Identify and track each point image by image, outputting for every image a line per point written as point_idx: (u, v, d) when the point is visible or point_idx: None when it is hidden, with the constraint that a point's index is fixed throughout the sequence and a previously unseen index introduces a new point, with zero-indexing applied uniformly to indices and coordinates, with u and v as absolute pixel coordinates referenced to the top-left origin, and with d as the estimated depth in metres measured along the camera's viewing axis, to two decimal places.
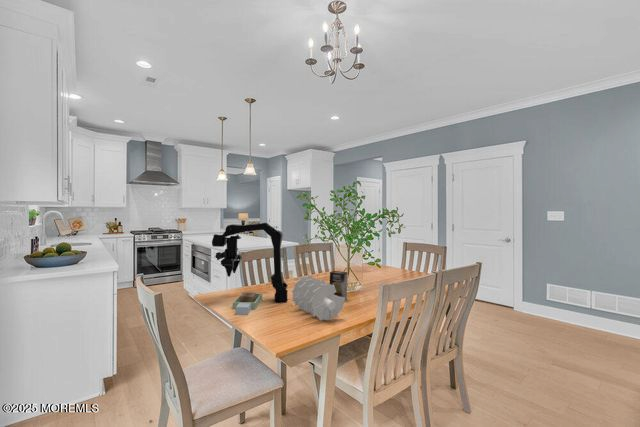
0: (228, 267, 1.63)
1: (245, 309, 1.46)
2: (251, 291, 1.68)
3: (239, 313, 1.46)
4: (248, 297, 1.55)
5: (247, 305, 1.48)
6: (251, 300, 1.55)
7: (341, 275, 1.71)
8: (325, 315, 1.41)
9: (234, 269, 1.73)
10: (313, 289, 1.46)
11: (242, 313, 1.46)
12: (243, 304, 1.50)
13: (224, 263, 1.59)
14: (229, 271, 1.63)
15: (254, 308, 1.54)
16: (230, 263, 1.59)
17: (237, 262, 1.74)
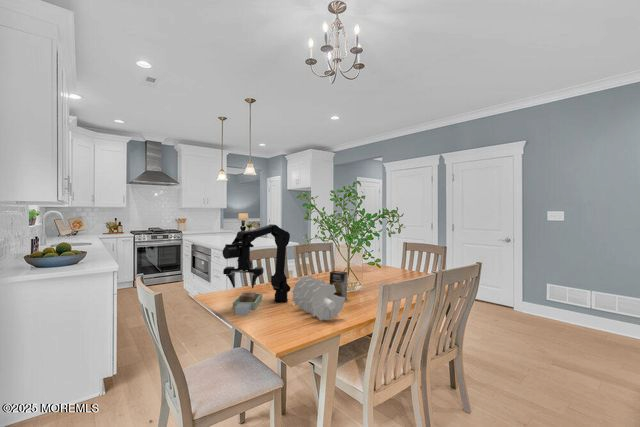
0: None
1: (244, 309, 1.46)
2: (251, 291, 1.68)
3: (238, 313, 1.46)
4: (248, 297, 1.55)
5: (246, 305, 1.48)
6: (251, 300, 1.55)
7: (341, 275, 1.70)
8: (325, 315, 1.41)
9: None
10: (313, 289, 1.46)
11: (242, 313, 1.46)
12: (242, 304, 1.50)
13: None
14: None
15: (254, 308, 1.54)
16: None
17: None
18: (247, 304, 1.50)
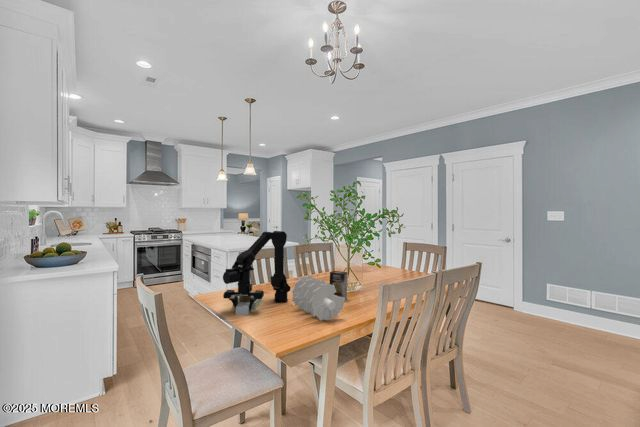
0: None
1: (245, 309, 1.46)
2: (251, 291, 1.68)
3: (239, 313, 1.46)
4: (248, 297, 1.55)
5: (247, 305, 1.48)
6: None
7: (341, 275, 1.70)
8: (325, 315, 1.41)
9: None
10: (313, 289, 1.46)
11: (242, 313, 1.46)
12: (243, 304, 1.50)
13: None
14: None
15: (254, 308, 1.54)
16: None
17: None
18: (248, 304, 1.50)
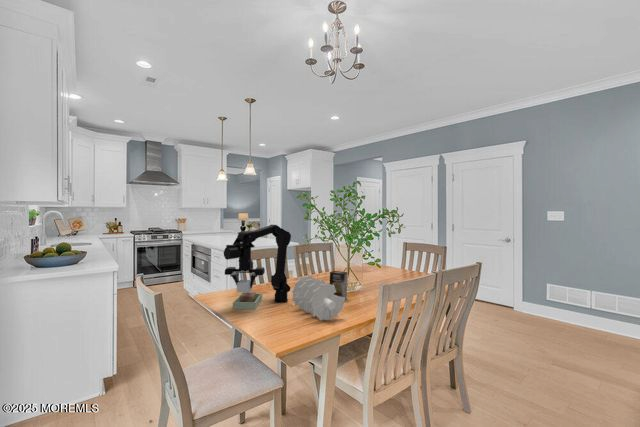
0: None
1: (246, 285, 1.47)
2: (251, 291, 1.68)
3: (240, 289, 1.47)
4: (248, 297, 1.55)
5: (248, 281, 1.49)
6: (251, 300, 1.55)
7: (341, 275, 1.70)
8: (325, 315, 1.41)
9: (250, 284, 1.50)
10: (313, 289, 1.46)
11: (244, 289, 1.47)
12: (244, 281, 1.51)
13: None
14: None
15: (254, 308, 1.54)
16: None
17: None
18: (249, 280, 1.51)
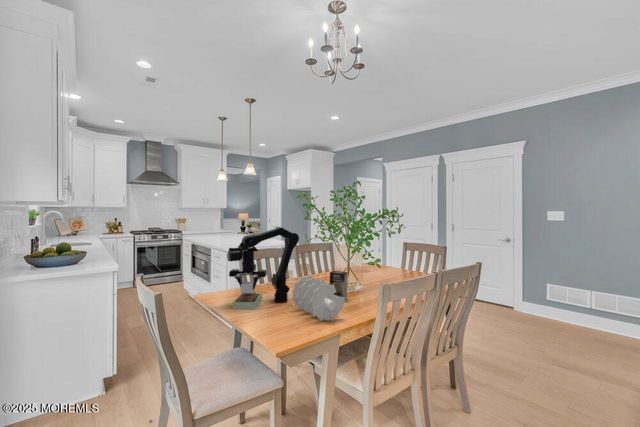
0: None
1: (249, 286, 1.56)
2: None
3: (244, 290, 1.56)
4: (248, 297, 1.55)
5: (251, 283, 1.58)
6: (251, 300, 1.55)
7: (341, 275, 1.71)
8: (325, 315, 1.41)
9: None
10: (313, 289, 1.46)
11: (247, 290, 1.56)
12: (247, 282, 1.59)
13: None
14: None
15: (254, 308, 1.54)
16: (229, 274, 1.57)
17: None
18: (252, 282, 1.60)
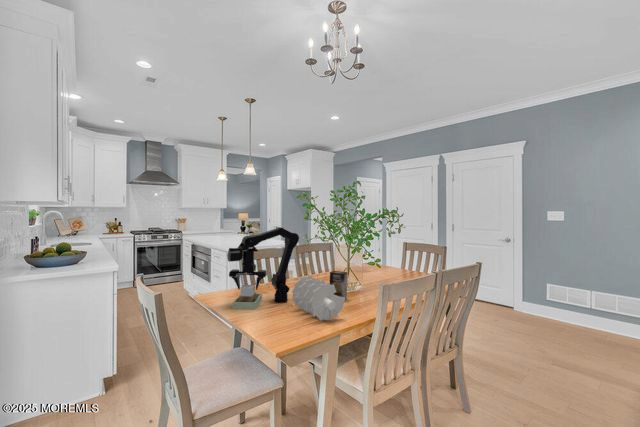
0: None
1: (249, 289, 1.56)
2: None
3: (244, 293, 1.56)
4: (248, 297, 1.55)
5: (251, 286, 1.58)
6: (251, 300, 1.55)
7: (341, 275, 1.71)
8: (325, 315, 1.41)
9: (256, 286, 1.59)
10: (313, 289, 1.46)
11: (247, 293, 1.56)
12: (247, 285, 1.59)
13: None
14: None
15: (254, 308, 1.54)
16: (229, 274, 1.57)
17: None
18: (252, 285, 1.60)
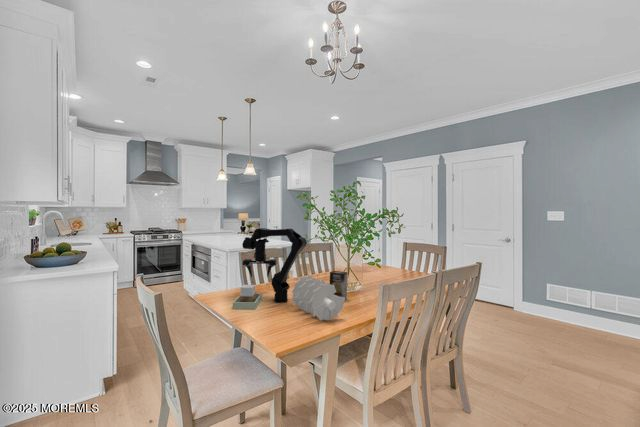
0: None
1: (249, 289, 1.56)
2: None
3: (244, 293, 1.56)
4: (248, 297, 1.55)
5: (251, 286, 1.58)
6: (251, 300, 1.55)
7: (341, 275, 1.71)
8: (325, 315, 1.41)
9: None
10: (313, 289, 1.46)
11: (247, 293, 1.56)
12: (247, 285, 1.59)
13: None
14: None
15: (254, 308, 1.54)
16: None
17: (268, 267, 1.72)
18: (252, 285, 1.60)
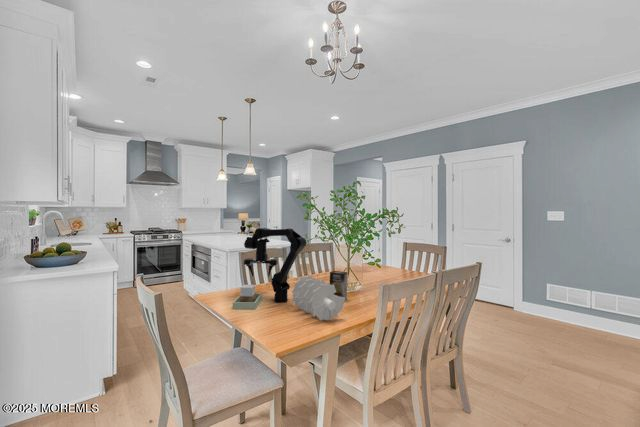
0: None
1: (249, 289, 1.56)
2: None
3: (244, 293, 1.56)
4: (248, 297, 1.55)
5: (251, 286, 1.58)
6: (251, 300, 1.55)
7: (341, 275, 1.71)
8: (325, 315, 1.41)
9: None
10: (313, 289, 1.46)
11: (247, 293, 1.56)
12: (247, 285, 1.59)
13: None
14: None
15: (254, 308, 1.54)
16: (244, 263, 1.72)
17: (269, 267, 1.73)
18: (252, 285, 1.60)
